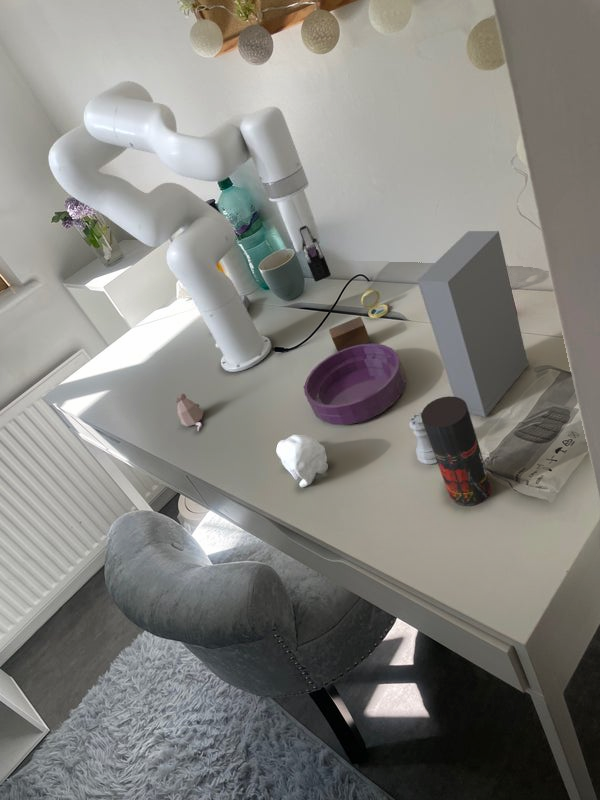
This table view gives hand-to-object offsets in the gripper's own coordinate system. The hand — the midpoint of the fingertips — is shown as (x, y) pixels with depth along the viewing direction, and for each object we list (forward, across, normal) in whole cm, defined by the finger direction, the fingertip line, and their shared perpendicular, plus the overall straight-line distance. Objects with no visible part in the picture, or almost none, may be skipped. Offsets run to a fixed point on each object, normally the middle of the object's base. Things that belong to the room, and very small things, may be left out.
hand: (319, 268), depth 117 cm
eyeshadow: (+20, -10, +8) cm, 24 cm away
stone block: (+20, -38, -27) cm, 51 cm away
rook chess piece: (+19, +39, +6) cm, 44 cm away
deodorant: (+19, +49, +8) cm, 53 cm away
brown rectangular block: (+19, 0, +1) cm, 19 cm away
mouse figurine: (+20, +4, -36) cm, 41 cm away
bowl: (+19, +16, -2) cm, 25 cm away
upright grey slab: (+19, +29, +19) cm, 40 cm away
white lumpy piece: (+20, +31, -15) cm, 40 cm away
